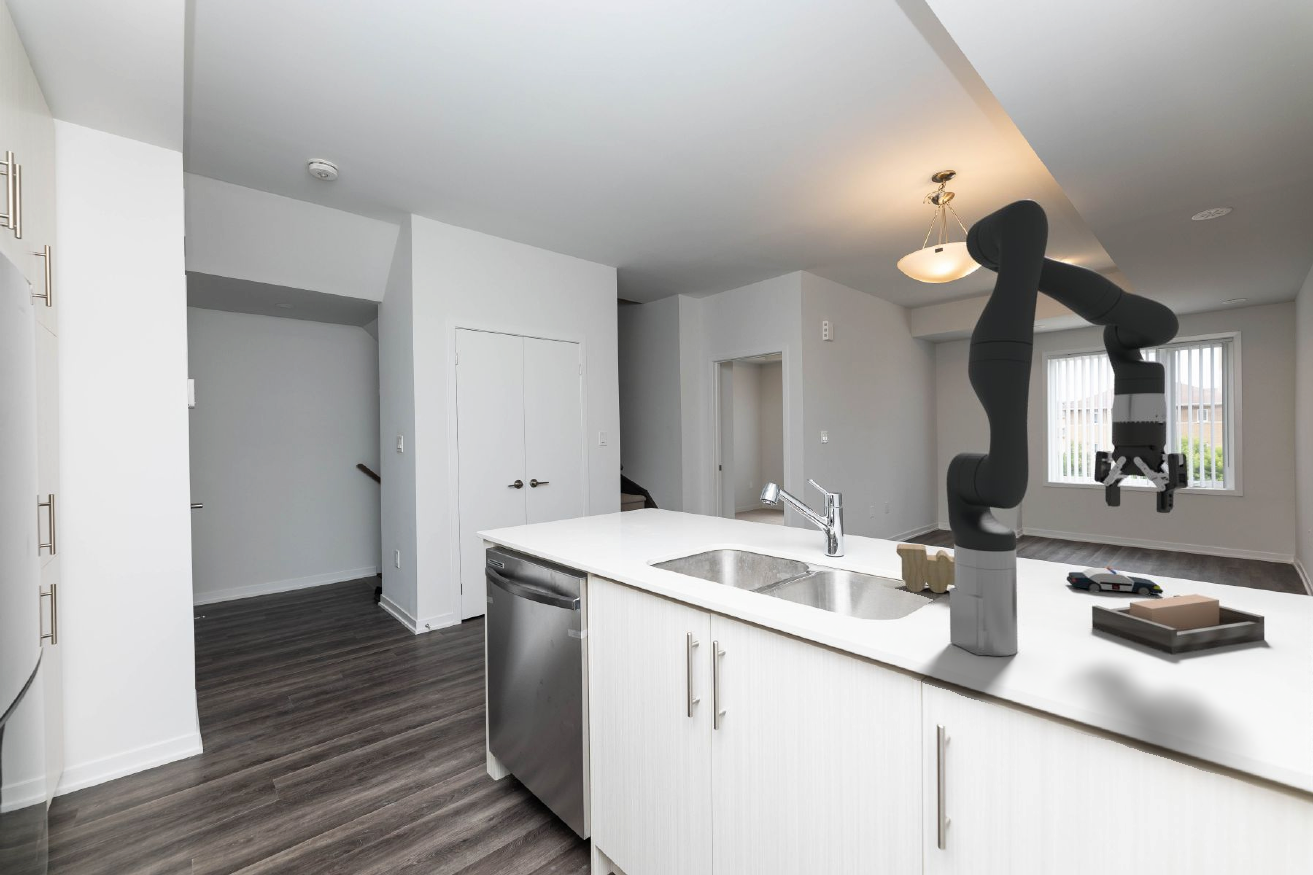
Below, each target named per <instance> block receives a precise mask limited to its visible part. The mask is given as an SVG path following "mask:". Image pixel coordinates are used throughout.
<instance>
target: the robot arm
mask: <svg viewBox="0 0 1313 875" xmlns="http://www.w3.org/2000/svg"><path fill="white" fill-rule="evenodd" d="M1048 220H1049V219H1048V217H1047V214H1046V212H1045V209H1044V208H1043V207H1042V206H1041V204H1040V203H1038V202H1037V201H1036V200H1033V199H1028V198H1025V199H1019V200H1016V201H1013V202H1010V203H1008V204H1006V205H1003V207H1001V208H1000V209H997V210H996V211H994V212H992V213H990V214H988V215H986V216H984V217H983V218H981V219H980V220H978V221H977V222H975V223H973V225H972V226H971V227H970V228H969V230H968V232H967V233H966V234H967V235H966V238H965V239H966V240H965V243H966V249H967V252H968V255H969V257H971V259H972V260H973V261H975V263H977V264H978V265H980V266H981V267H984V268H985V269H986V270H987V269H988V270H989V271H992V272H995V273H996V274H997V276H996V281H995V284H994V287H993V290H992V293H991V295H990V297H989V299H988V300H987V303H986V304H985V306H984V308H983V310H982V311H981V314H980V316H979V318H978V320H977V322H976V324H975V326H974V329H973V332H972V334H971V337H970V342H969V351H968V363H967V364H968V366H967V369H968V370H967V374H968V379H969V382H970V386H971V387H972V389H973V391H974V393H975V395H976V397H977V398H978V400H979V402H980V404H981V406H982V407H983V409H984V412H985V413H986V416H987V419H988V423H989V424H988V425H989V437H990V438H989V451H964V452H960V453H958V454H956V455H955V456H954V457H953V458H952V459H951V461H950V463H949V465H948V468H947V472H946V497H947V511H948V523H949V527H950V529H951V533H952V536H953V543H954V544H953V551H954V552H953V557H954V579H955V586H954V587H952V588H950V589H949V625H950V626H949V628H950V629H949V630H950V632H949V633H950V634H949V635H950V636H949V637H950V643H951V644H954V645H955V646H958V647H959V648H962V649H964V650H965V651H968V652H970V653H973V655H977V656H991V657H992V656H993V657H994V656H997V657H1006V656H1008V657H1009V656H1012V655H1015V654H1016V653H1018V651H1019V650H1018V648H1019V646H1018V645H1019V642H1018V591H1017V589H1018V586H1017V585H1018V583H1017V580H1018V579H1017V578H1018V577H1017V570H1018V569H1017V535H1016V533H1015V531H1014V530H1013V529H1012V528H1010V527H1008V526H1006V525H1005V524H1004V523H1002V522H1001V521H999V520H998V519H997V518H996V517H995V516H994V514H993V513H992V511H991V508H995V509H1002V510H1009V509H1014V508H1016V507H1017V506H1019V505H1020V504H1021V502H1022V501H1023V500H1024V498H1025V496H1026V493H1027V490H1028V484H1029V441H1028V440H1029V439H1028V438H1029V437H1028V412H1029V410H1028V407H1029V396H1030V395H1029V394H1030V391H1029V390H1030V381H1031V374H1032V373H1031V372H1032V363H1033V354H1034V352H1033V351H1034V350H1033V349H1034V334H1035V333H1034V331H1035V319H1036V311H1037V310H1036V309H1037V302H1038V293H1039V292H1040V293H1042V294H1044V295H1045V296H1048V297H1050V298H1051V299H1053V300H1054V301H1056V302H1058V303H1060V304H1061V305H1063V306H1064V307H1066V309H1069V310H1070V311H1071V312H1073V313H1074V314H1076V315H1077V316H1079V317H1081V318H1082V319H1084V320H1085V321H1086V322H1088V323H1090V324H1093V325H1095V326H1104V328H1103V329H1104V330H1103V333H1102V334H1103V335H1102V337H1103V338H1102V339H1103V344H1104V347H1105V351H1106V353H1107V357H1108V359H1109V363H1110V365H1111V368H1112V371H1113V376H1114V380H1113V403H1112V410H1111V444H1112V445H1113V447H1114V448H1113V451H1110V450H1098V451H1096V453H1095V462H1094V475H1093V476H1094V478H1093V480H1094V481H1095V482H1096V483H1101V484H1103V485H1104V487H1105V489H1104V490H1105V492H1104V493H1105V497H1104V498H1105V502H1106V504H1107V507H1113V508H1114V507H1115V508H1116V507H1117V508H1119V506H1121V486H1120V485H1121V484H1122V482H1123V481H1124V480H1125V479H1126V478H1128V477H1129V476H1137V477H1146V478H1147V479H1148V480H1149V481H1150V482H1152V483H1153V484H1154V486H1155V487H1156V488H1157V491H1156V512H1157V513H1159V514H1170V513H1171V510H1173V509H1174V493H1175V491H1177V490H1181V489H1187V488H1188V486H1189V481H1188V480H1189V479H1188V464H1187V455H1186V454H1185V453H1183V452H1173V453H1172V452H1170V453H1166V452H1165V446H1166V445H1167V412H1168V411H1167V409H1168V408H1167V402H1166V401H1167V400H1166V394H1165V392H1166V380H1165V379H1166V371H1165V366H1164V364H1162V363H1161V362H1159V361H1155V360H1145V359H1144V357H1143V355H1142V352H1141V349H1146V348H1154V347H1159V346H1162V345H1165V344H1168V343H1169V342H1171V341H1172V340H1173V339H1174V338H1175V337H1176V336H1177V334H1178V331H1179V327H1180V324H1179V320H1178V317H1177V316H1176V314H1175V312H1174V311H1173V310H1172V309H1171V308H1169V307H1168V306H1167V305H1165V304H1163V303H1161V302H1159V301H1156V300H1154V299H1150V298H1149V297H1145V296H1142V295H1139V294H1137V293H1133V292H1130V291H1127V290H1124V289H1123V288H1122V287H1120V286H1119V285H1117V284H1116V283H1115V282H1114V281H1112V280H1110V279H1109V278H1107V277H1106V276H1104V275H1103V274H1101V273H1099V272H1097V270H1094V269H1091V268H1089V267H1085V266H1081V265H1078V264H1074V263H1070V262H1065V261H1061V260H1057V259H1054V258H1051V257H1049V256H1046V249H1047V245H1048V239H1049V223H1048ZM1113 462H1115V464H1114V465H1113V467H1112V463H1113ZM1164 464H1166V465H1167V468H1168V469H1167V470H1168V471H1167V470H1166V469H1165V468H1164V466H1163V465H1164Z"/></svg>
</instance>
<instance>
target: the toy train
mask: <svg viewBox="0 0 1313 875" xmlns="http://www.w3.org/2000/svg"><path fill="white" fill-rule="evenodd" d="M896 554H897V555H898V556H899V557H900V558H901V579H902V581H904V582H905V587H906V588H907V590H909V591H911V592H912V593H919V592H922V591H923V590H924V589H925V588H926V585H927V586H928V588H929V589H930V590H931V591H932V592H934V593H936V594H942V593H945V592H946V590H948V587H949V586H953V587H955V579H954V556H951V555H949V554H948V553H947V552H946V551H945V550H943V549H939V550H938V551H937V552H936V554H935V555H934V554H928V553H927V547H926V545H925V544H916V543H915V544H913V543H911V544H910V543H898V544H897V546H896Z"/></svg>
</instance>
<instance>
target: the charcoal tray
mask: <svg viewBox="0 0 1313 875" xmlns="http://www.w3.org/2000/svg"><path fill="white" fill-rule="evenodd" d="M1178 596H1180V595H1178V594H1177V595H1173V597H1178ZM1091 611H1092V612H1091V615H1092V618H1091V619H1092V620H1091V621H1092V622H1091V624H1092V626H1091V628H1092V627H1093V629H1096V630H1098V629H1099V630H1098V631H1101V632H1103V633H1107V634H1110V635H1113V636H1116V637H1118V638H1123V639H1125V640H1128V641H1131V642H1134V643H1137V644H1140V645H1143V646H1147V647H1148V648H1151V649H1154V650H1155V649H1156V650H1158V651H1160V650H1162V651H1161V652H1163V651H1164V653H1166V654H1169V653H1170V655H1176V654H1175V653H1177V654H1182V653H1188V652H1194V651H1193V650H1195V651H1200V650H1206V649H1212V648H1220V647H1225V646H1233V645H1239V644H1245V643H1251V642H1257V641H1264V640H1265V616H1264V615H1260V614H1257V613H1252V612H1248V611H1244V610H1240V609H1236V608H1233V607H1232V608H1231V607H1227V606H1225V605H1220V604H1219V625H1215V626H1208V627H1202V628H1195V629H1188V630H1181V631H1177V629H1175V628H1172V627H1168V626H1165V625H1162V624H1158V623H1155V622H1152V621H1148V620H1145V619H1141V618H1138V617H1135V616H1131V615H1130V606H1124V607H1118V608H1117V607H1115V608H1108V607H1104V606H1101V605H1092V606H1091Z"/></svg>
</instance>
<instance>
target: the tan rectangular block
mask: <svg viewBox="0 0 1313 875" xmlns="http://www.w3.org/2000/svg"><path fill="white" fill-rule="evenodd" d="M1219 605H1220V599H1218V598H1213V597H1209V596H1204V595H1200V594H1196V593H1195V594H1187V595H1179V596H1178V597H1174V596H1170V597H1164V598H1163V597H1162V598H1157V599H1147V600H1139V601H1131V602H1129V607H1130V615H1131V616H1135V617H1138V618H1141V619H1145V620H1148V621H1152V622H1155V623H1158V624H1162V625H1165V626H1168V627H1172V628H1175V629H1177V631H1181V630H1188V629H1195V628H1202V627H1208V626H1215V625H1219Z"/></svg>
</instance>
